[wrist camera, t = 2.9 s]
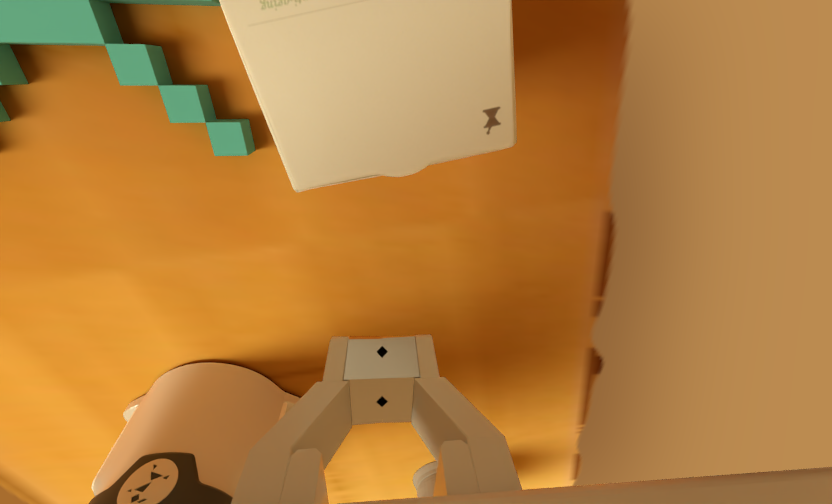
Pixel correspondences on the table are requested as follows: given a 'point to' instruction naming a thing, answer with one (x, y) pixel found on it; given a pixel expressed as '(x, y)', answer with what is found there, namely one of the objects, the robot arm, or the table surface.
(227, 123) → the alien figure
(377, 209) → the table surface
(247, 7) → the skincare box
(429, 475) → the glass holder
